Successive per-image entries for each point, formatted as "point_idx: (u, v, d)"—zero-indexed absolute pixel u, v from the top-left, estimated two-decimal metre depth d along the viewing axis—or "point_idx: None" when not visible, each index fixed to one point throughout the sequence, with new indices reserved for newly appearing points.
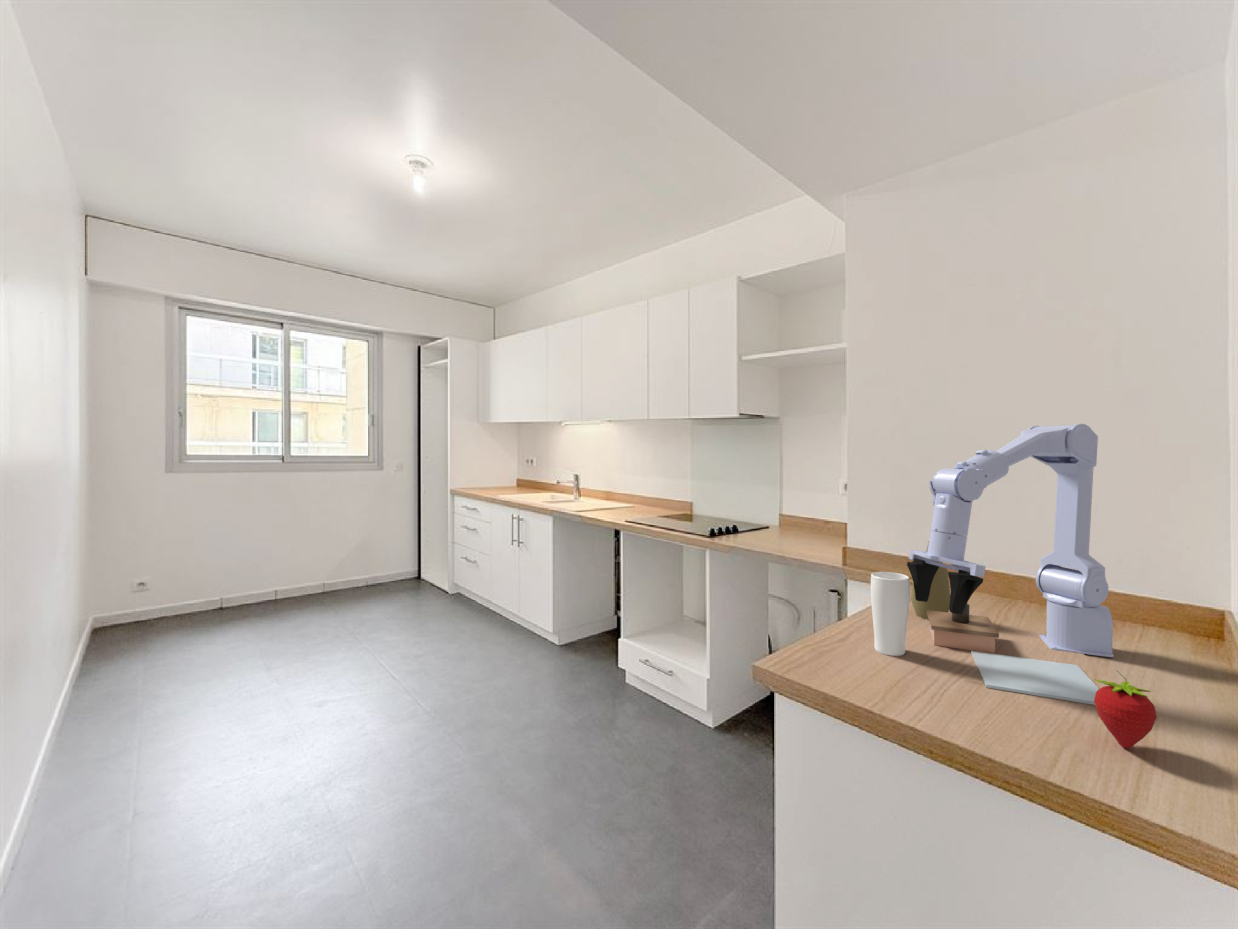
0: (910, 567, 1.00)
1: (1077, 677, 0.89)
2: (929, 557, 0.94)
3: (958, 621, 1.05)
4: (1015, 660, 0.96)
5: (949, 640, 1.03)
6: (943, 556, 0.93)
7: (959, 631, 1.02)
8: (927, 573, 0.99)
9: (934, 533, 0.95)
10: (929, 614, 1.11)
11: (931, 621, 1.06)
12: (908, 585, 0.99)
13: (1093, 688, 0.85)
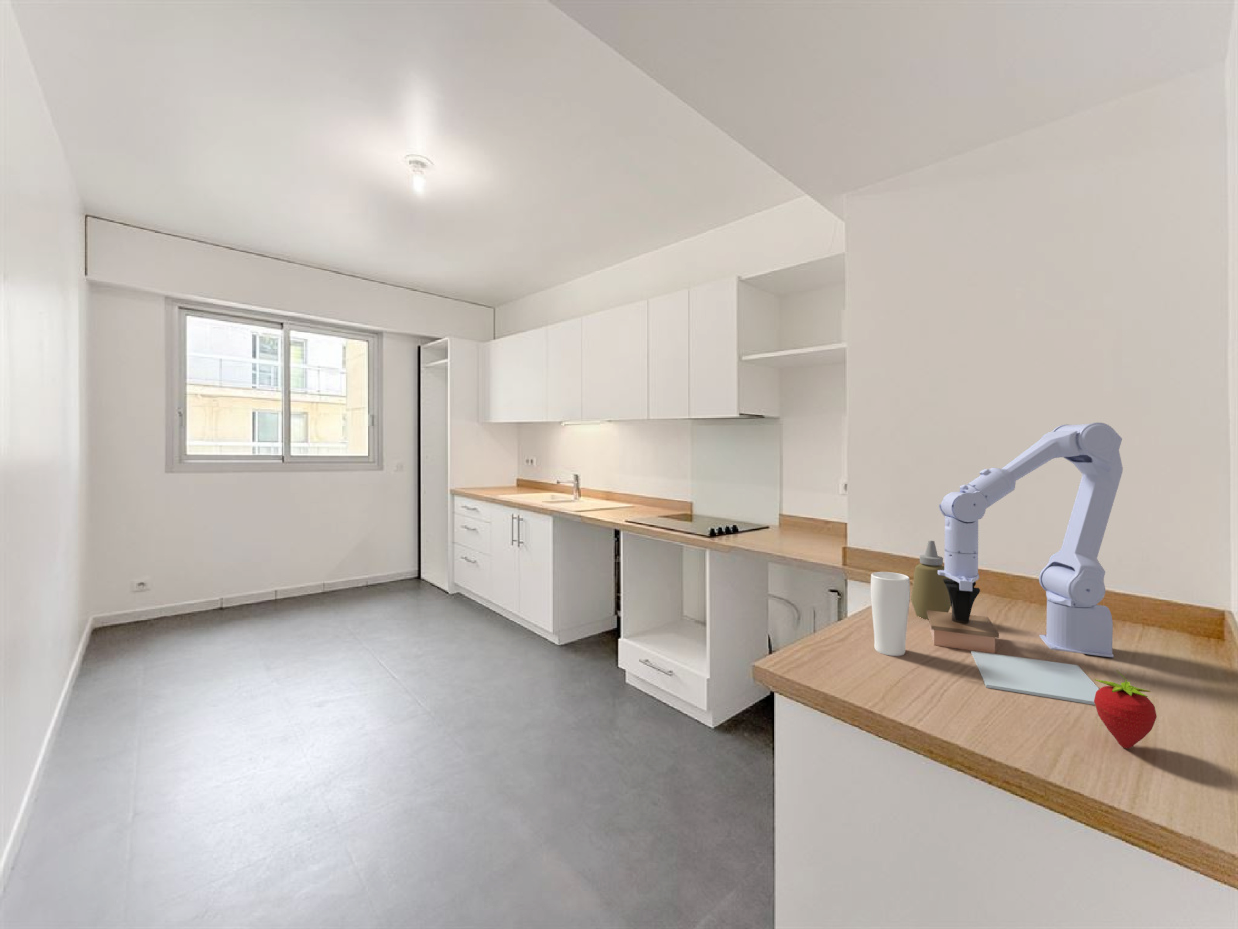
0: None
1: (1077, 677, 0.89)
2: (938, 573, 1.07)
3: (958, 621, 1.05)
4: (1015, 660, 0.96)
5: (949, 640, 1.03)
6: (949, 572, 1.05)
7: (959, 631, 1.02)
8: None
9: None
10: (929, 614, 1.11)
11: (931, 621, 1.06)
12: (908, 585, 0.99)
13: (1093, 688, 0.85)
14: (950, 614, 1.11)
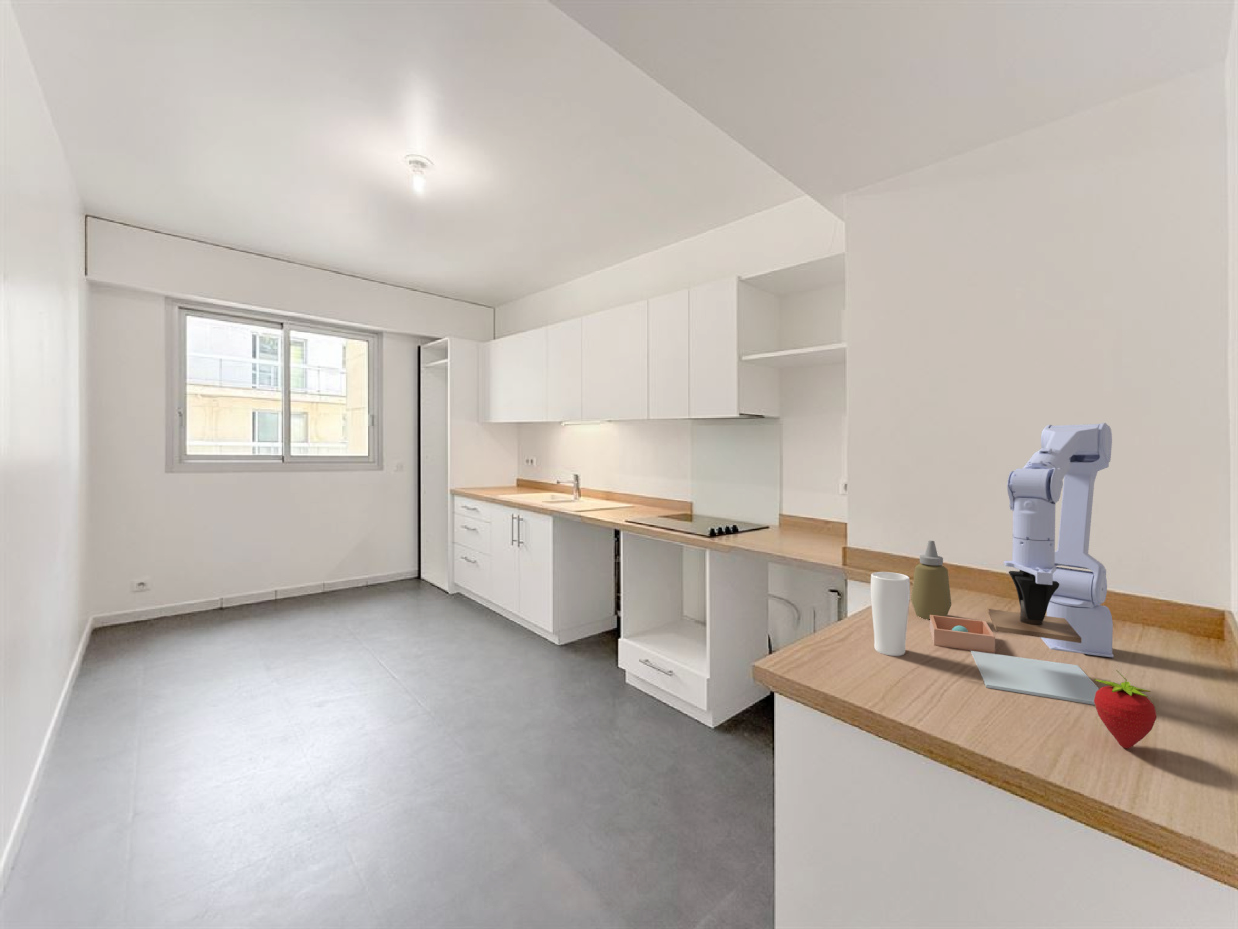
0: (1011, 576, 0.93)
1: (1077, 677, 0.89)
2: (1005, 564, 0.91)
3: (1029, 622, 0.89)
4: (1015, 660, 0.96)
5: (949, 640, 1.03)
6: (1019, 563, 0.89)
7: (1031, 634, 0.86)
8: None
9: None
10: (992, 613, 0.95)
11: (995, 621, 0.90)
12: (908, 585, 0.99)
13: (1093, 688, 0.85)
14: (1018, 614, 0.94)
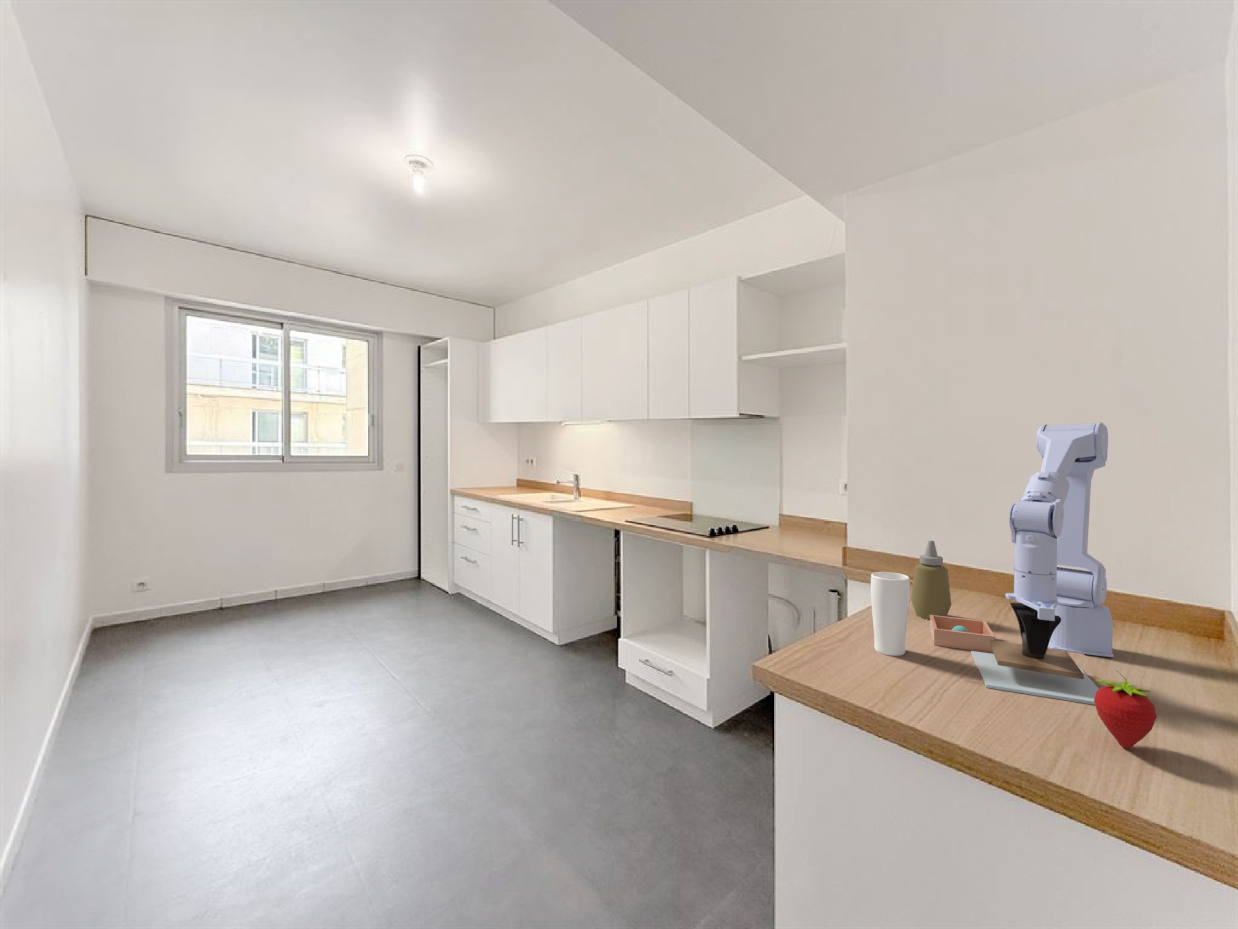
0: (1013, 608, 0.93)
1: None
2: (1006, 597, 0.91)
3: (1030, 656, 0.89)
4: None
5: (949, 640, 1.03)
6: (1021, 597, 0.89)
7: (1033, 669, 0.85)
8: None
9: (1014, 571, 0.91)
10: (993, 645, 0.94)
11: (997, 654, 0.90)
12: (908, 585, 0.99)
13: (1093, 688, 0.85)
14: (1019, 646, 0.94)
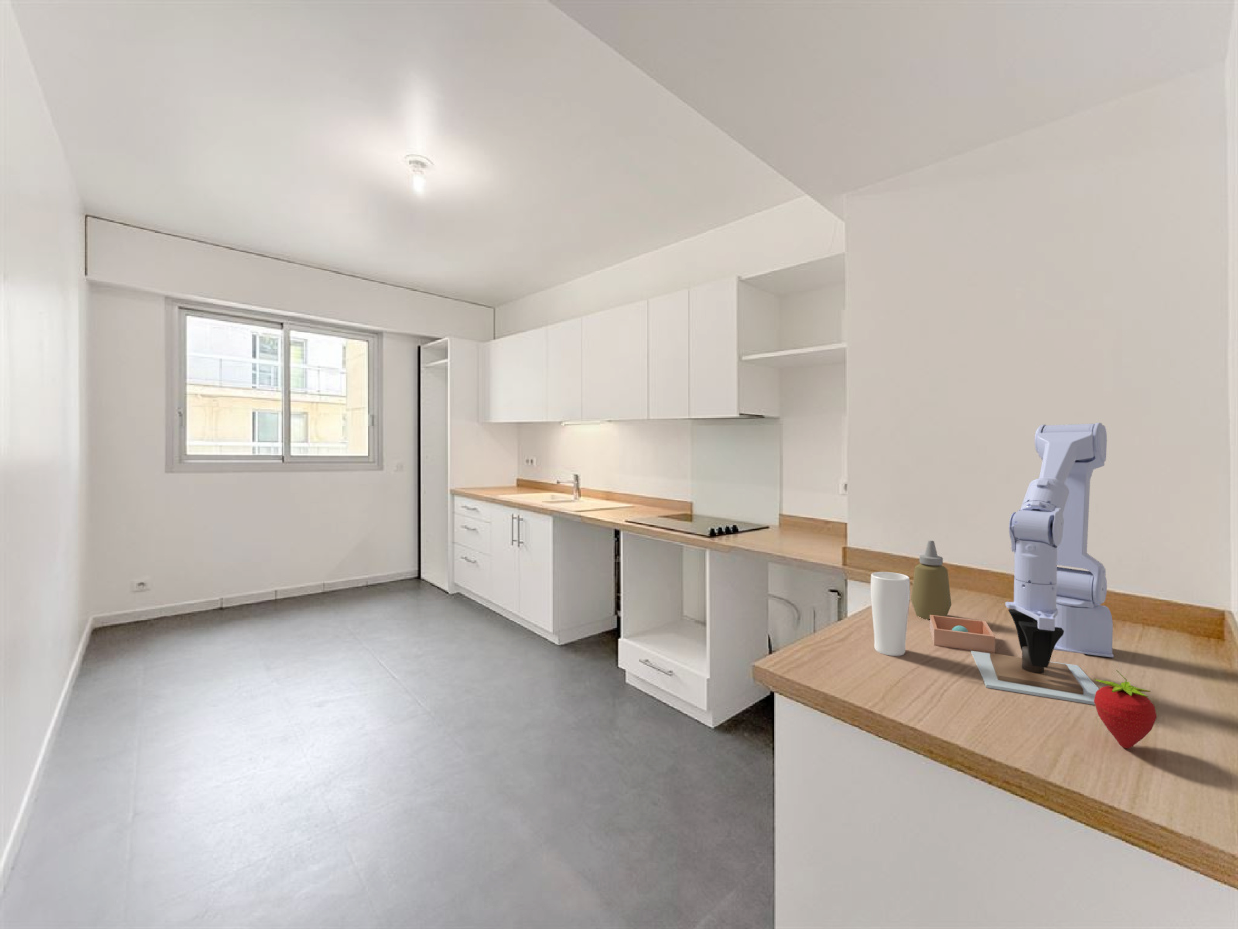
0: (1011, 615, 0.95)
1: (1077, 677, 0.89)
2: (1006, 606, 0.91)
3: (1030, 670, 0.89)
4: None
5: (949, 640, 1.03)
6: (1021, 606, 0.89)
7: (1033, 684, 0.86)
8: (1032, 622, 0.92)
9: (1014, 580, 0.91)
10: (993, 659, 0.94)
11: (997, 669, 0.90)
12: (908, 585, 0.99)
13: (1093, 688, 0.85)
14: (1019, 659, 0.94)
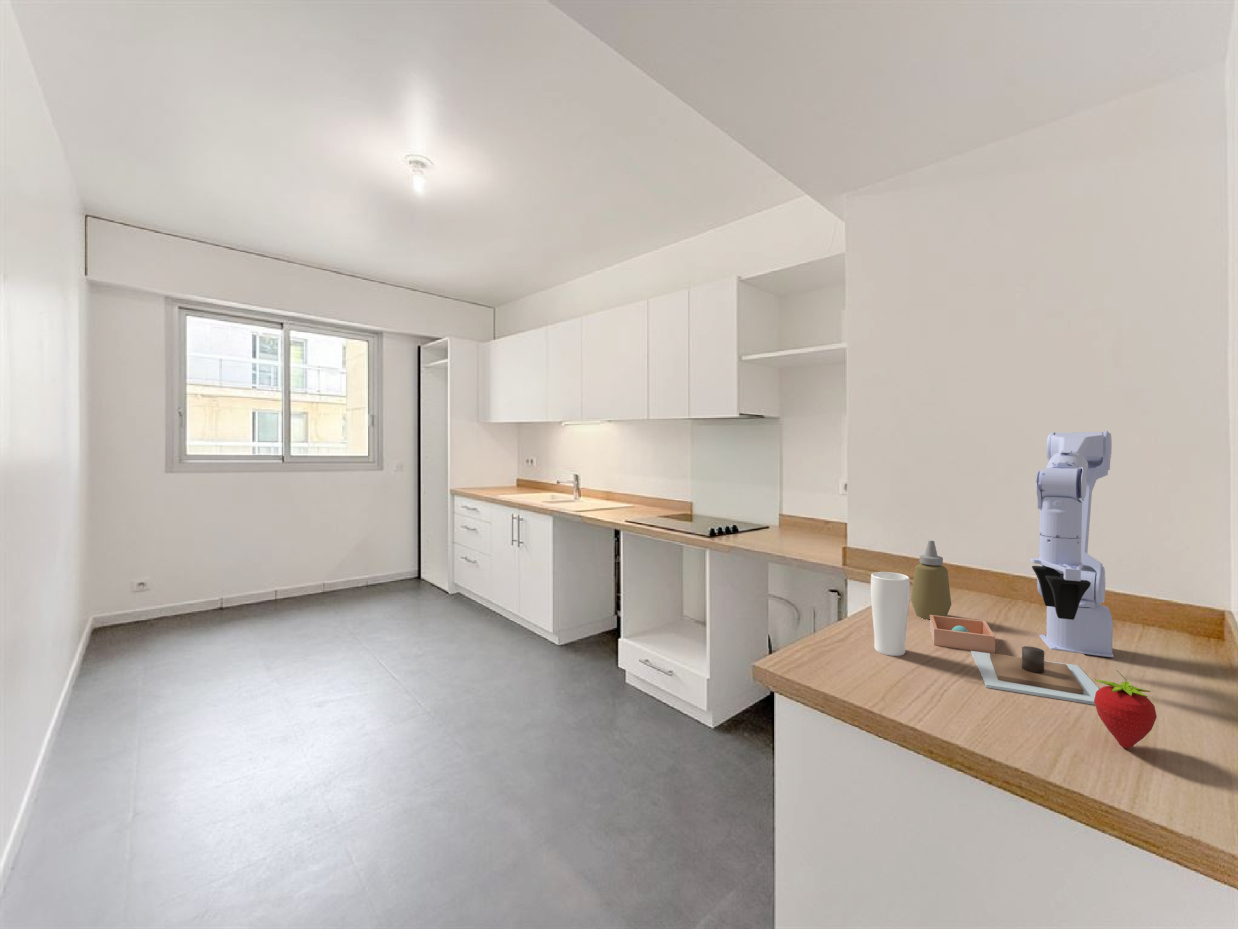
0: (1034, 571, 0.98)
1: (1077, 677, 0.89)
2: (1032, 561, 0.94)
3: (1030, 670, 0.89)
4: None
5: (949, 640, 1.03)
6: (1046, 560, 0.92)
7: (1033, 684, 0.86)
8: None
9: (1039, 536, 0.94)
10: (993, 659, 0.94)
11: (997, 669, 0.90)
12: (908, 585, 0.99)
13: (1093, 688, 0.85)
14: (1019, 659, 0.94)
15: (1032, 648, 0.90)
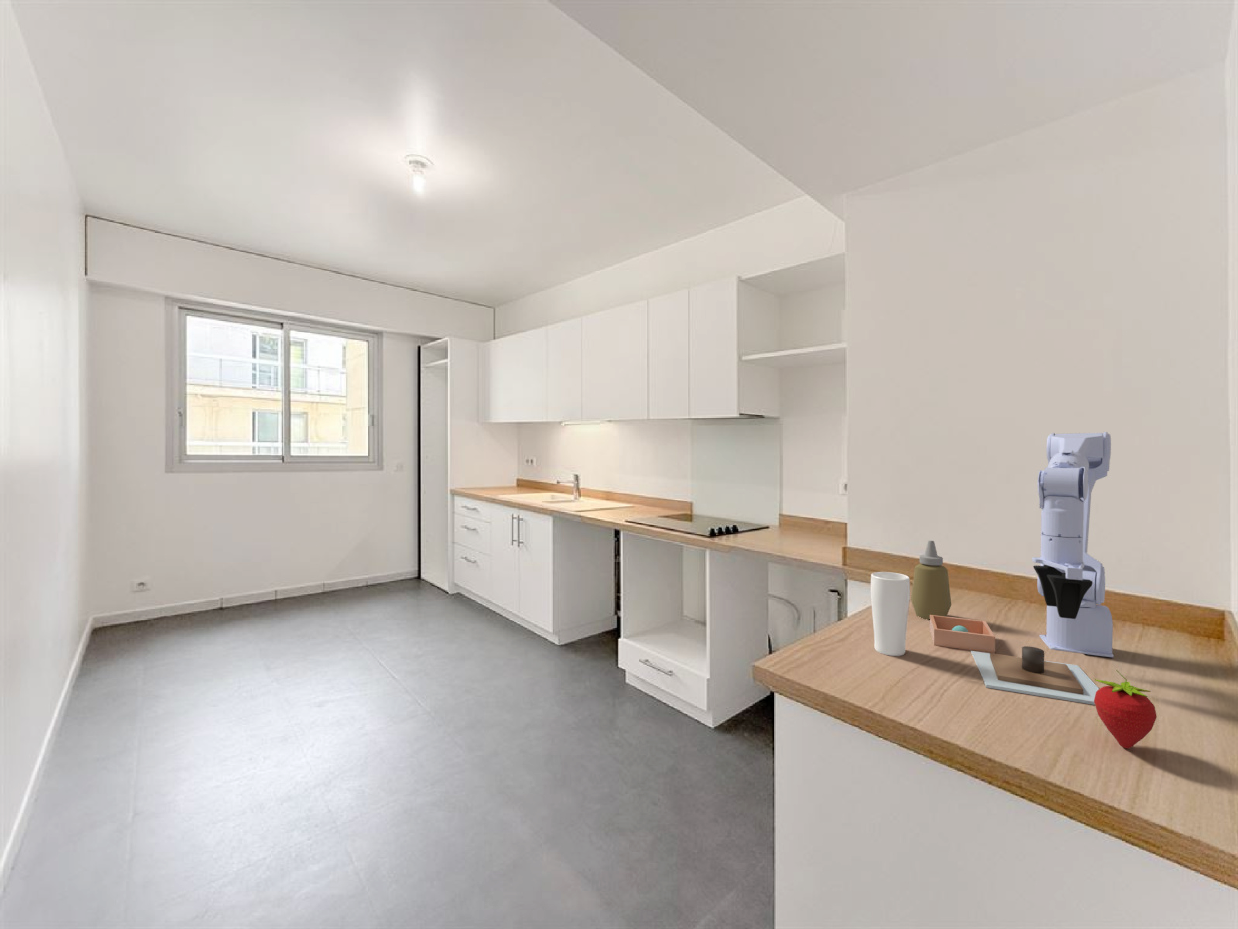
0: (1036, 570, 0.98)
1: (1077, 677, 0.89)
2: (1033, 560, 0.94)
3: (1030, 670, 0.89)
4: None
5: (949, 640, 1.03)
6: (1048, 559, 0.92)
7: (1033, 684, 0.86)
8: None
9: (1041, 536, 0.94)
10: (993, 659, 0.94)
11: (997, 669, 0.90)
12: (908, 585, 0.99)
13: (1093, 688, 0.85)
14: (1019, 659, 0.94)
15: (1032, 648, 0.90)
